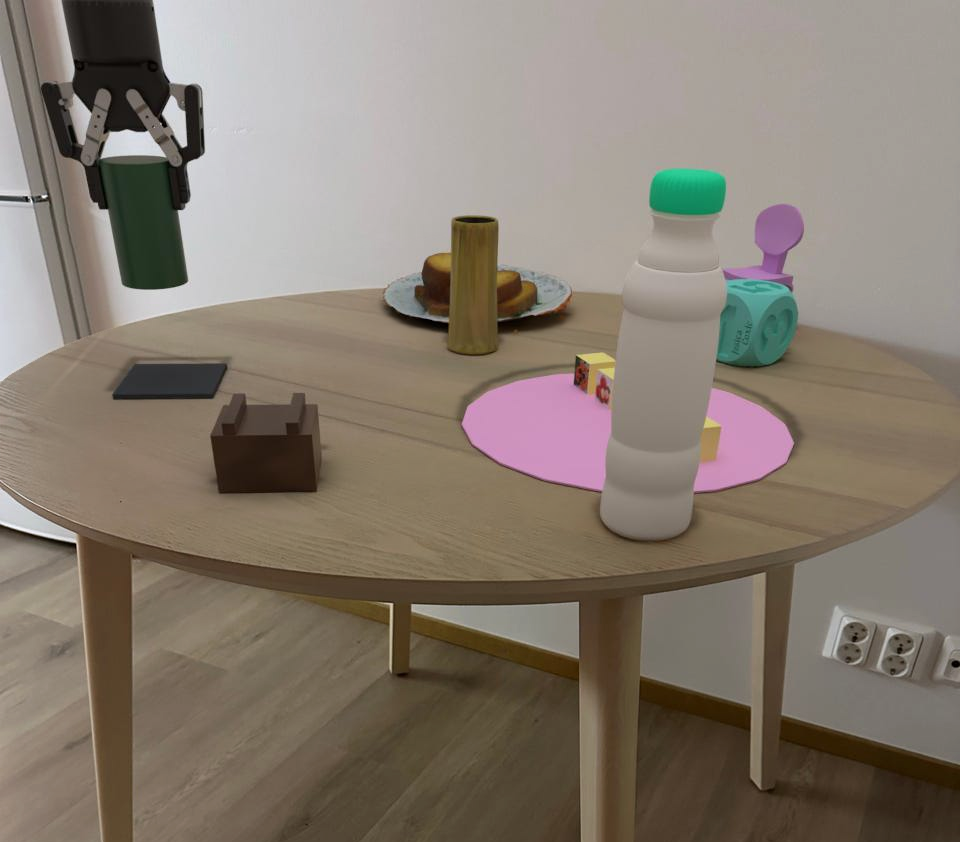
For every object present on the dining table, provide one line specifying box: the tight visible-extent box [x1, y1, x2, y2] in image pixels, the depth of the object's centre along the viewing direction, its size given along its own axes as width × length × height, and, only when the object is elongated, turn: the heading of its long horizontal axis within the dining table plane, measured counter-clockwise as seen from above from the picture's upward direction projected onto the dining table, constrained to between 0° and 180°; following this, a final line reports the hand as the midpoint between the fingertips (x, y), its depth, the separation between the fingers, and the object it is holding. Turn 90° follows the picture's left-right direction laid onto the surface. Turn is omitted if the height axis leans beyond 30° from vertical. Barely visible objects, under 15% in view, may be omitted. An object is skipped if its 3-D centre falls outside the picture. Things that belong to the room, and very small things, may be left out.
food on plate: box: [382, 252, 573, 333], centre depth 124 cm, size 25×25×7 cm
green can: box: [99, 154, 189, 291], centre depth 89 cm, size 6×11×6 cm
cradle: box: [209, 392, 323, 494], centre depth 77 cm, size 8×7×6 cm
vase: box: [446, 214, 500, 356], centre depth 107 cm, size 6×6×14 cm
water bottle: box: [599, 167, 727, 542], centre depth 66 cm, size 7×7×25 cm
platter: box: [461, 351, 795, 494], centre depth 89 cm, size 32×32×3 cm
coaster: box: [111, 362, 228, 400], centre depth 98 cm, size 10×10×1 cm
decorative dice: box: [716, 279, 799, 368], centre depth 108 cm, size 8×8×8 cm
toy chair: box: [722, 203, 805, 294], centre depth 114 cm, size 8×9×15 cm
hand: (143, 208), depth 89 cm, fingers closed on green can, 6 cm apart
